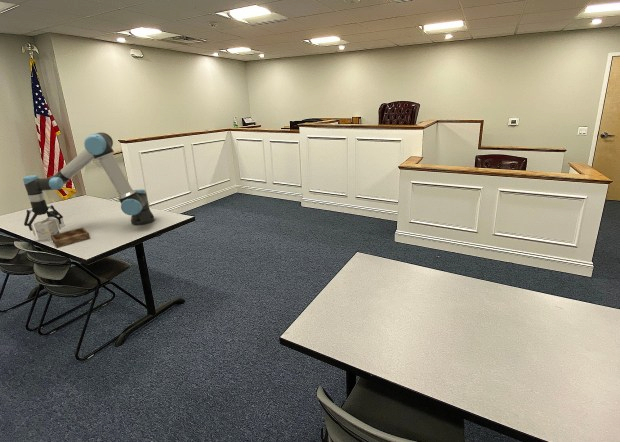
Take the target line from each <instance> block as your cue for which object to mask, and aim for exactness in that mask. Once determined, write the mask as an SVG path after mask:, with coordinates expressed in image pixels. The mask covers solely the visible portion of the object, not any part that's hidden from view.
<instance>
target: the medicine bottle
mask: <svg viewBox="0 0 620 442" xmlns="http://www.w3.org/2000/svg"><path fill="white" fill-rule="evenodd" d="M48 211H49V212H51V213H52V214H54V215H56V216H58V217H59V215H58V214H57V213H56V212H54V211H53V210H48ZM46 216H47V218H48V217H50V218H49V219H55V220H56V219H57V218H55V217H53V216H51V215H49V214H47V213H46ZM60 220H61V224H60V227H61V228H63V227H65V222H64V217H63V218H61V219H60ZM56 224H57V220H56ZM57 227H58V224H57ZM58 229H59V227H58Z"/></svg>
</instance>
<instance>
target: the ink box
mask: <svg viewBox="0 0 620 442" xmlns="http://www.w3.org/2000/svg"><path fill="white" fill-rule="evenodd" d="M49 218H50V217H48V216H47V218H45V219H41V220H39V221H37V222H35V223H33V226H34V227H33V228H34V230H35V232H36V234H37V235H36V236H37V238H38V240H39V242H43V241H44V242H45V241H52V239H51V236H50V235H55V234H59V233H60V229H59V228H58V227H57V224H56V220H55V219H49Z"/></svg>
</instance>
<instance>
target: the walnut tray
mask: <svg viewBox="0 0 620 442" xmlns="http://www.w3.org/2000/svg"><path fill="white" fill-rule="evenodd" d="M50 236H51V239H52V240H51V241H53V242H52V243H53V245H54V246H55V247H56V249H58V248H61V247H64V246H69V245H72V244H75V243H79V242H83V241H84V242H85V241H87V240H90V239H91V236H90V233H89V231H87V230H86V229H85V228H84V227H79V228H74V229H71V230H67V231H64V232H63V231H62V232H59V234H55V235H50Z"/></svg>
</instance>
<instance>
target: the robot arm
mask: <svg viewBox="0 0 620 442" xmlns="http://www.w3.org/2000/svg"><path fill="white" fill-rule="evenodd" d="M83 145H84V150H83V151H81V152H80V153H79V154H78V155H76V156H75V157H74V158H73V159H72V160H71V161H69V162H68V163H67V164H66V165H65V166H64V167H63V168H61V169H60V170H59V171H58V172H57V173H55V174H54V175H52V176H49V177H43V178H40V177H39V176H38V175H34V174H31V175H26V176H23V178H22V180H23V181H22V182H23V185H24V188H25V191H26V193H27V197H28V199H29V202H30V205H31V209H26V215H25V219H24V222H23V226H24V227H28V229H29V231H30V232H31V231H32V234H33V236H36V233H35V232H36V231H35V228H34V227H33V226H34V225H33V224H34V221H35V220H36V218H37V216H42V215H47V214H49V215H51V216H53V217H55V218H57V219H56V220H57V224H58V227H59V228H58V230H62V227H60V224H61V220H60V219H61V218H63V219H64V216H63V215H62V214H61V213H60V212H59V211H58V210H56V208H55V206H54V205H53V204H50V205H47V201H46V199H45V195H44V192H43V191H54V190H55V191H57V190H62V189H63V187H64V185H66V184H68V183H69V181H71V179H72V178H74V177H75V176H76V175H77V174H78V173H80V172H81V171H82V170H83V169H84V168H86V166H87V165H89V164H90V163H91V162H92V161H93V160H96V161H99V163H100V165H101V167H102V169H103V170H104V172H105V173H106V175H107V177H108V179H109V181H110V182H111V184H112V186H113V188H114V189H115V190H116V192H117V194H118V198H117V199H118V200H119V201H118V202H120V209H121V211H122V212H123V214H125V215H128V216H131V217H130V222H131V224H132V225H133V226H142V225H148V224H150V223H152V222H154V221H155V220H156V219H155V215H154V214H153V212H152V211H151V209H150V205H149V200H148V195H147V192H146V189H133V188H132V187H131V184H130V183H129V181H128V179H127V177H126V176H125V174H124V172H123V170H122V169H121V167H120V165H119V163H118V162H117V160H116V158H115V157H114V153H115V151H114V149H113V145H114V140H113V138H112V136H111V135H109V134H108V133H105V132H97V133H93V134H91V135H88V136H87V137H86V138H85V139H84V142H83ZM49 209H50V210H51V211H54V212H56V213H57V214H58V216H59V217H58V216H56V215H54V214H52V213H51V212H49V211H50V210H49ZM32 213H33V216H32V217H31V219H30V216H31V214H32ZM29 219H30V220H29Z"/></svg>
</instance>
